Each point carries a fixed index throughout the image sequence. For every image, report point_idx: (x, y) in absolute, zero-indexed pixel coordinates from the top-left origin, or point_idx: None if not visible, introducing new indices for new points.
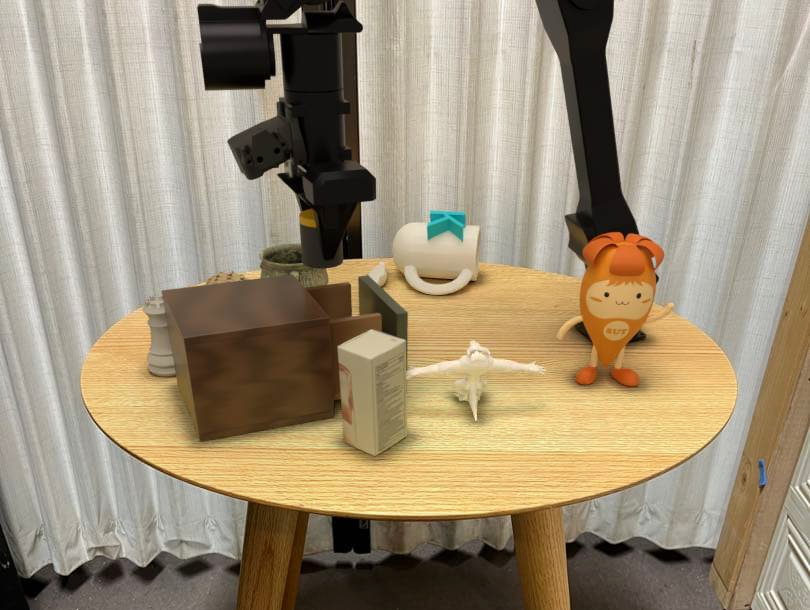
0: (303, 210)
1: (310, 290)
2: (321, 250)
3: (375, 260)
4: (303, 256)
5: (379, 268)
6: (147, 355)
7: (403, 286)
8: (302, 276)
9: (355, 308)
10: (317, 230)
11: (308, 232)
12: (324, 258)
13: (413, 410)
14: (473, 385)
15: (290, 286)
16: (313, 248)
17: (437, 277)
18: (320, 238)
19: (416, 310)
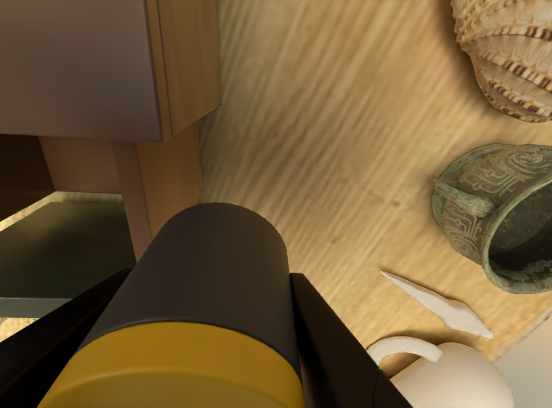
0: (331, 403)
1: (118, 167)
2: (116, 284)
3: (525, 330)
4: (203, 217)
5: (473, 327)
6: None
7: (420, 328)
8: (473, 219)
9: (393, 257)
10: (29, 358)
11: (111, 310)
12: (120, 270)
13: (37, 208)
14: None
15: (17, 86)
16: (135, 266)
17: (410, 365)
18: (27, 328)
19: (340, 315)
